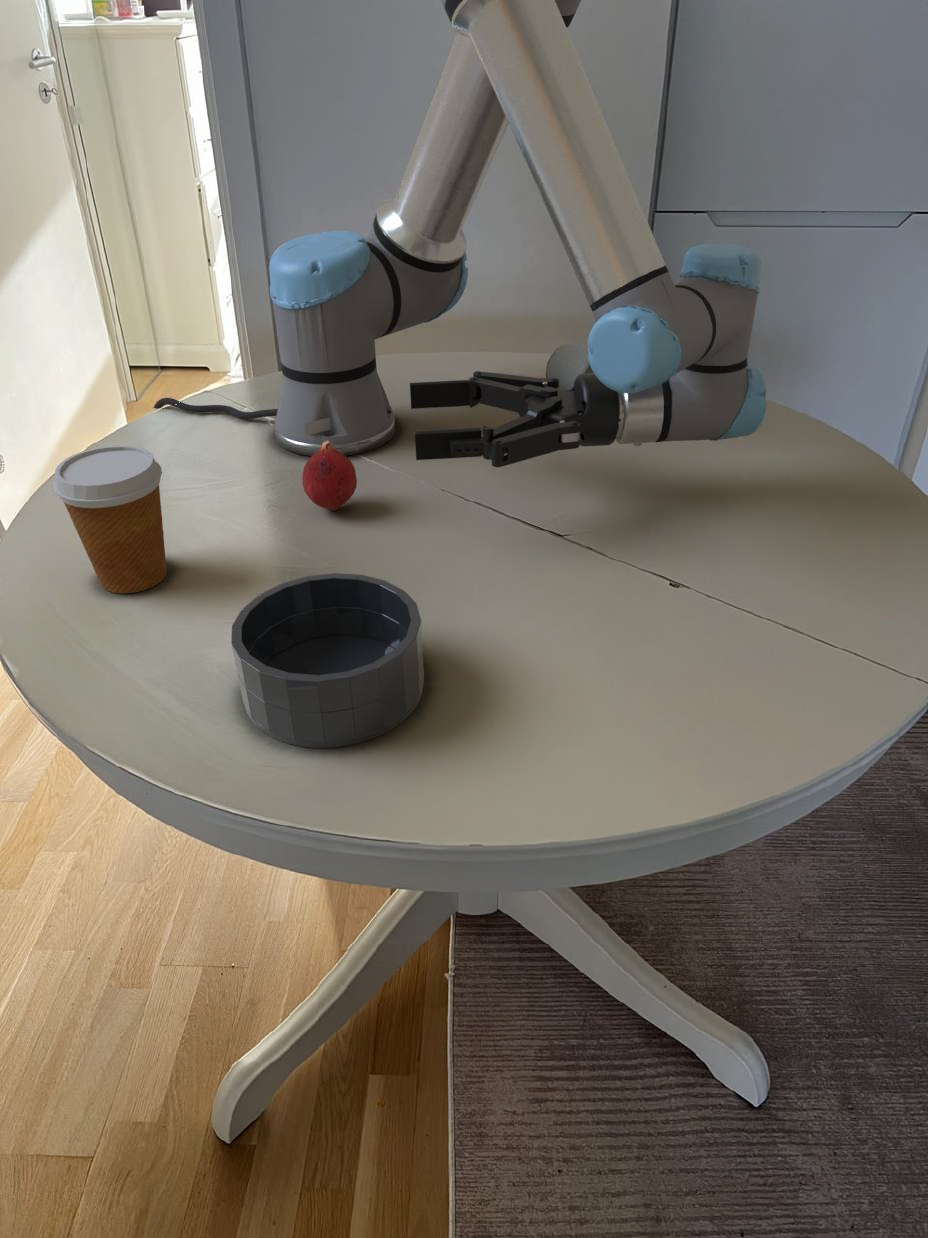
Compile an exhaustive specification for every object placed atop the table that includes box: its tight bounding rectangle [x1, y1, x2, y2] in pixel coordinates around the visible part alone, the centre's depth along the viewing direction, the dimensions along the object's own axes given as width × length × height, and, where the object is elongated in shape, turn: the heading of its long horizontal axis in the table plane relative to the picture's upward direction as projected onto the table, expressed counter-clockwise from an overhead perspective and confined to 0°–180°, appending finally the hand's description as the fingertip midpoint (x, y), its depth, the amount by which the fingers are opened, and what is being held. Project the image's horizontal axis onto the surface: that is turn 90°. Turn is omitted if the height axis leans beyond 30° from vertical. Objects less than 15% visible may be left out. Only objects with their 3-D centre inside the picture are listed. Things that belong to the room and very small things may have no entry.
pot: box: [230, 572, 425, 749], centre depth 74 cm, size 15×15×6 cm
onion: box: [301, 441, 358, 512], centre depth 99 cm, size 6×6×8 cm
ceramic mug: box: [545, 343, 594, 391], centre depth 123 cm, size 11×8×8 cm
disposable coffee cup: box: [52, 444, 168, 595], centre depth 87 cm, size 10×10×12 cm
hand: (412, 419), depth 96 cm, fingers open, 13 cm apart
